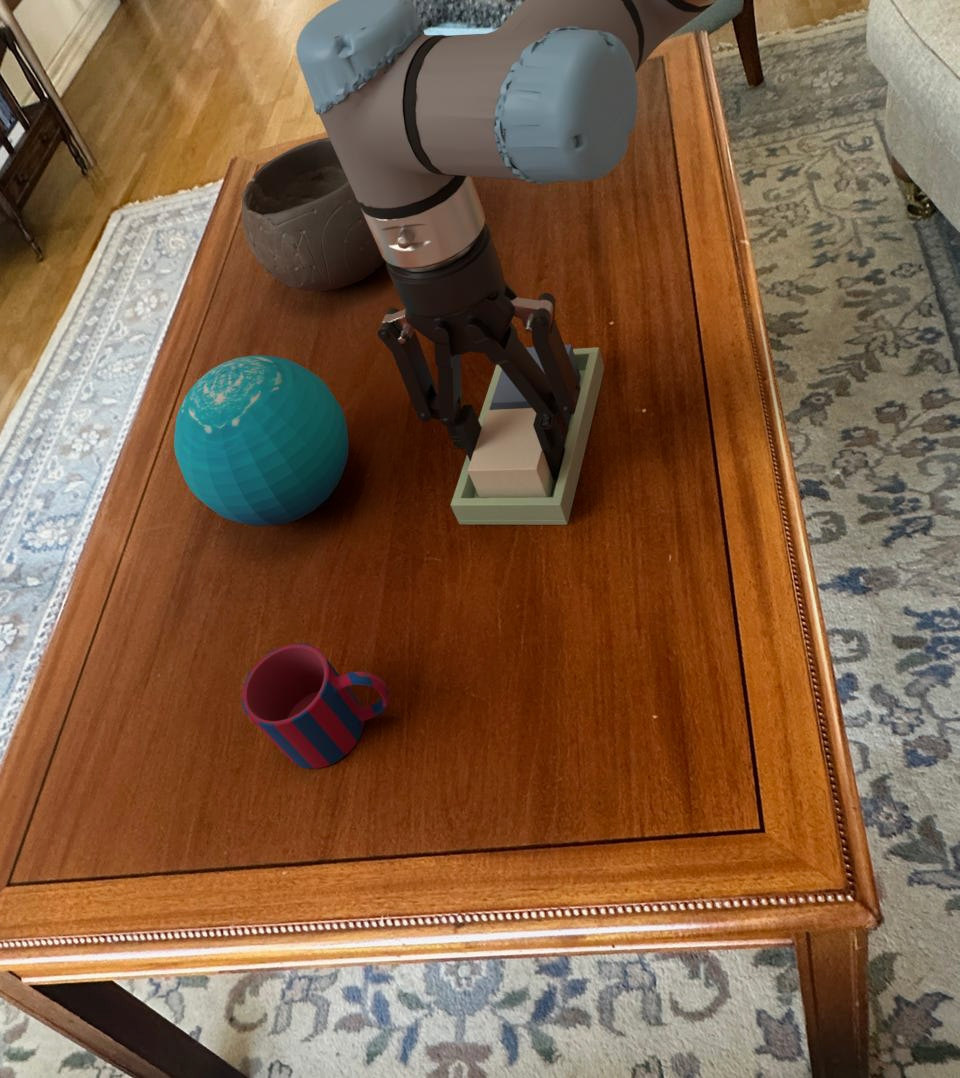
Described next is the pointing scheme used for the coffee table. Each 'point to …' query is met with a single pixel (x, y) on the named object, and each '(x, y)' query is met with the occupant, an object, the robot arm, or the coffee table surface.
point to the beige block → (510, 457)
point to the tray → (563, 490)
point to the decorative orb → (261, 440)
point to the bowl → (308, 221)
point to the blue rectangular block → (509, 394)
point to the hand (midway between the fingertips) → (522, 468)
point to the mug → (309, 704)
